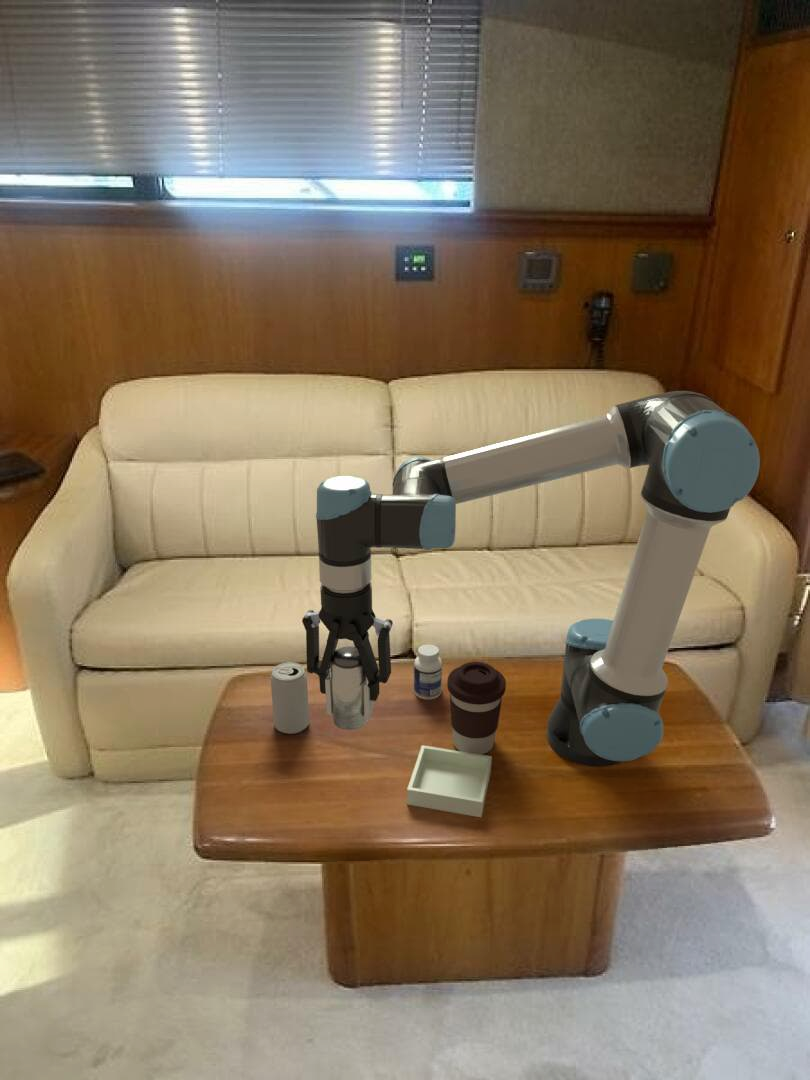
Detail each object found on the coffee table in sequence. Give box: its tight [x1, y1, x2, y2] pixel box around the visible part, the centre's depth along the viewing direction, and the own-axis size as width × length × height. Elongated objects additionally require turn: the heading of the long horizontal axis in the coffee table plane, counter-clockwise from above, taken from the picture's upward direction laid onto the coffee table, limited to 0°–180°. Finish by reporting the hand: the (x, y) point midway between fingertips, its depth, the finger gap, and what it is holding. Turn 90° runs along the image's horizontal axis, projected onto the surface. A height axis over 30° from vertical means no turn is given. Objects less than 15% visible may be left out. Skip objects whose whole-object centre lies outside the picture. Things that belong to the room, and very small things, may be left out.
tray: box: [406, 744, 493, 818], centre depth 129 cm, size 12×11×3 cm
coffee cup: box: [446, 661, 507, 755], centre depth 136 cm, size 10×10×15 cm
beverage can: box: [270, 661, 310, 735], centre depth 141 cm, size 6×6×12 cm
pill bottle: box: [413, 644, 443, 700], centre depth 151 cm, size 5×5×10 cm
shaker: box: [330, 646, 368, 731], centre depth 122 cm, size 6×6×12 cm
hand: (350, 712), depth 124 cm, fingers closed on shaker, 5 cm apart
